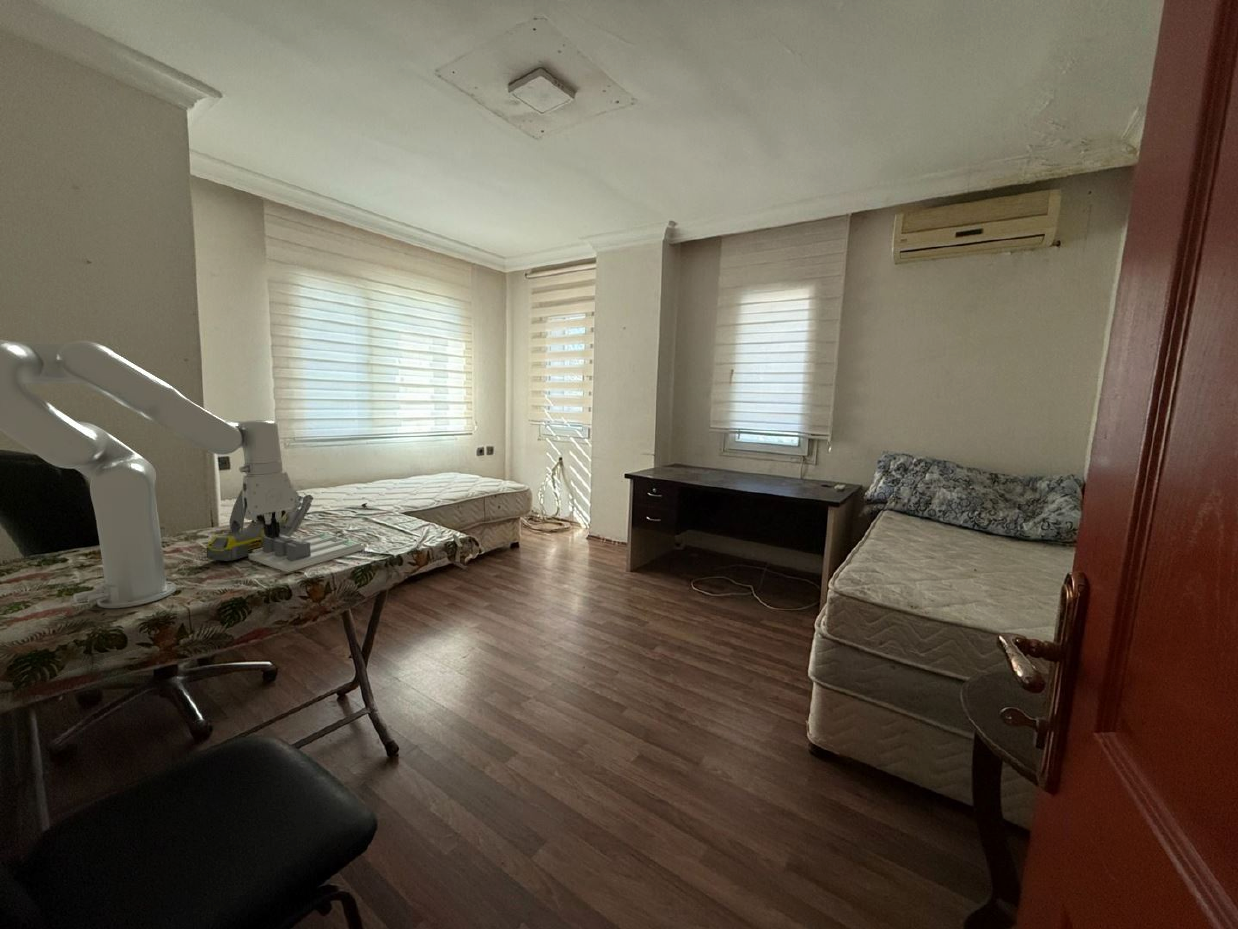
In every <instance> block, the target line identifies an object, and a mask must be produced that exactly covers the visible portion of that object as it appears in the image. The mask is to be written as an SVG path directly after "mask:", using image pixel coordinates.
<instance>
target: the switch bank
mask: <svg viewBox="0 0 1238 929" xmlns="http://www.w3.org/2000/svg"><path fill="white" fill-rule="evenodd" d="M297 539H298V540H303V541H306V542H310V551H311V556H310V557H306V558H303V559H299V560H296V561H290V560H287V555H286V556H282V557H278V556H275V551H274V552H270V553H266V552H263V548H259V549H255V550H252V552H253V553H250V554H248V556H247V557H248V560H250V561H253V562H257V563H258V564H262V565H265V566H267V567H271V568H274V569H276V570H280V571H282V572H285V573H290V572H293V571H296V570H300V569H304V568H307V567H311V566H313V565H316V564H321V563H323V562H327V561H331V560H333V559H336V558H341V557H344V556H346V555H351V554H353V553H357V552H360V551H361V552H362V551H364V550H365V549H366V548H365V544H364V543H362V542H357V541H352V540H349V539H348V538H347V539H346V538H342V537H339V536H336V535H331V534H328V533H327V534H326V533H325V532H321V533H317V534H316V533H315V534H314V535H313V534H312V535H309V536H305V537H301V538H297Z"/></svg>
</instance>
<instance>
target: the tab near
mask: <svg viewBox="0 0 1238 929" xmlns="http://www.w3.org/2000/svg"><path fill="white" fill-rule="evenodd" d="M298 539H299V538H296V539H294V540H293V542H292V543H288V544H286V549H287V560H290V561H296V560H299V559H303V558H306V557H310V556H311V551H310V542H306V541H303V540H298Z"/></svg>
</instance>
